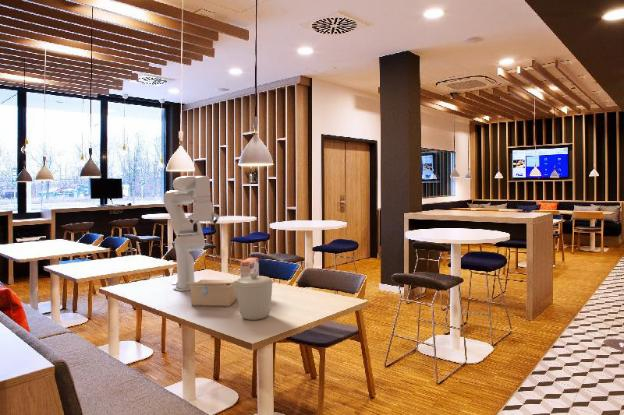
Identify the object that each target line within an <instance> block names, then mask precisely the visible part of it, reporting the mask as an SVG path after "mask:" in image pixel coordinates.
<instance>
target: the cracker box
mask: <svg viewBox="0 0 624 415" xmlns="http://www.w3.org/2000/svg"><path fill="white" fill-rule="evenodd" d="M259 261H260V260H259V257H248V258H245V259H244V260H241V261H240V262H239V264H240V266H239V267H240V268H239V269H240V278H243V277H247V276H250V273H251V272H257V274H258V275H257V276H260V268H259V267H260V266H259V265H260V263H259Z"/></svg>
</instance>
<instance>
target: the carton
mask: <svg viewBox="0 0 624 415" xmlns="http://www.w3.org/2000/svg"><path fill="white" fill-rule="evenodd" d="M235 281H237V280H236V279H200V280H198V281H197V282H217V283H225V284H226V285H228V287H207V288H206V289H207V290H208V294H207V295H203V294H202V290H203V289H204V287H205V286H191V290H190V301H191V302H190V303H191V305H190V306H191V307H218V308H219V307H220V308H222V307H223V308H226V307H227V308H229V307H231V306H232V305H234V303H236V302H238V299H237V292H236V285H234V282H235Z"/></svg>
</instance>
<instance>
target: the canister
mask: <svg viewBox="0 0 624 415" xmlns="http://www.w3.org/2000/svg"><path fill="white" fill-rule="evenodd" d="M257 275H258V274H257V272H251V273H250V276H247V277H243V278H241V277H240V278H238V279H237V280H236V281H235V282H234V285H236V292H237V299H238V300H237V306H238V310H239V314H240V316H241V318H243V319H244V320H247V321H248V320H249V321H258V320H263V319H265V318H267V317H269V314H270V312H271V305H272V293H273V284H274V282H275V280H274V279H272V278H270V277H269V276H266V275H265V276H264V275H259V276H257Z"/></svg>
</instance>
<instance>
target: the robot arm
mask: <svg viewBox="0 0 624 415" xmlns="http://www.w3.org/2000/svg"><path fill="white" fill-rule="evenodd" d="M172 186H173V189H174V190H169V191H168V190H167V191H166V192H165V193H164V194H163V203H164V207H165V209H166V211H167V213H168V214H169V217H170V221H171V225H172V230H173V233H174V234H175V235H177V236H176V238H174V242H173V243H174V250H175V255H176V269H177V270H176V271H177V281H172V282H171V285H172V286H175V291H178V292H186V291H191V286H190V285H188V284H186V282H195V281H196V280H195V262H194V261H195V260H194V257H193V255H192V254H191V253H190V252H193V251H200V250H203V249H204V248H205V246H206V242H205V241H206V240H205V237H204V232H203V228H202V225H201V223H200V222H210V224H211V225H210V232H211V233H214V232H215V231H216V224H217V223H218V221H219V219H220V217H221V216H220V215H218V214H217V213H215V212H214V208H213V203H212V201H211V184H210V176H208V175H184V176H179V177H176V178H175V179H173V181H172ZM193 202H194V203H193ZM192 203H193V208H192V209H193V210H192V213H191V214H190V215H188V216H187V217H186V215H185V210H184V209H182V208H181V207H180V206H178V205H189V204H192Z"/></svg>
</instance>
